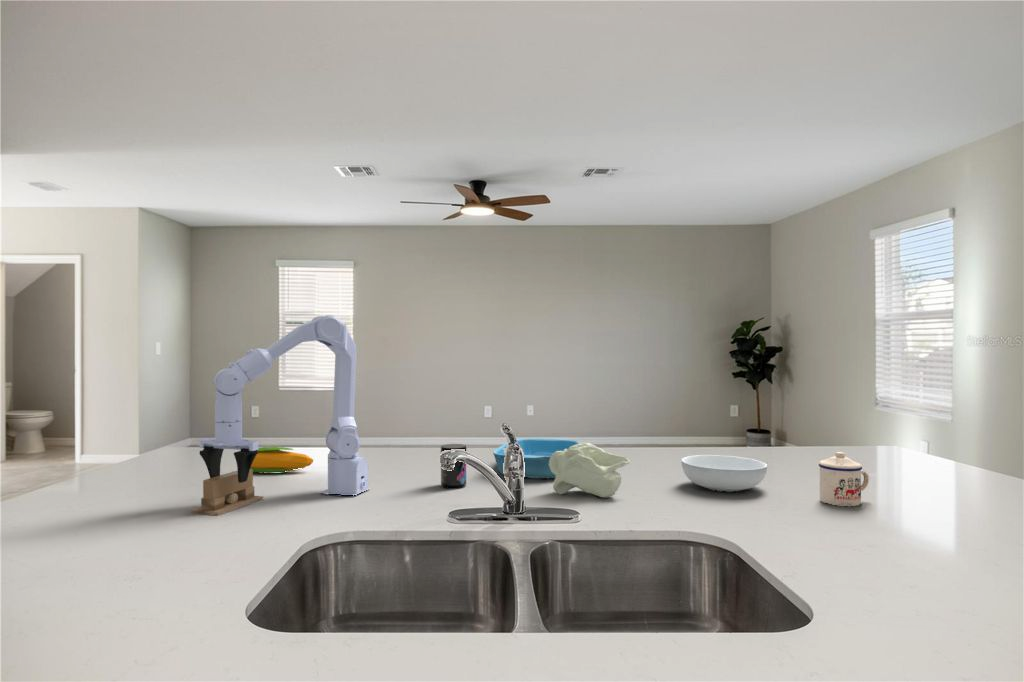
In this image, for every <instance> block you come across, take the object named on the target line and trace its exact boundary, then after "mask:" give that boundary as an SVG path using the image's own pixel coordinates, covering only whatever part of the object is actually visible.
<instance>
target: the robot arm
mask: <svg viewBox="0 0 1024 682" xmlns="http://www.w3.org/2000/svg"><path fill="white" fill-rule="evenodd" d="M315 341H316V342H319V343H321V344H323V345H325V346H326V347H327V348H328V349H329V350H330V351H332V352H333V354H334V355H335V356H334V383H333V385H334V386H333V404H332V405H333V407H332V409H333V410H332V418H331V420H330V423H329V431H328V432H327V433H326V437H325V445H326V447H327V448H328V449H329V452H328V454H327V488H326V489H325V490H321V491H320V494H321V493H328V494H327V495H329V494H341V495H353V496H352V497H355V496H354V495H356V496H358V495H357V494H359V493H361V492H363V493H365V492H367V491H369V490H368V489H371V488H370V487H369V463H368V460H367V458H365V457H360V456H359V455H358V452H359V450H360V449H361V448H360V447H361V439H360V438H359V435H358V426H357V423H356V420H355V399H356V397H355V396H356V377H357V376H356V374H357V373H356V371H357V344H356V343H355V341H354V339H353V337H352V335H351V334H350V332H349V331H348V327H347V323H346V322H345V323H344V321H342V320H341V319H340V318H339V317H337V316H335V315H332V314H328V315H319V316H315V317H314V318H312V319H311V320H308V321H306V322H304V323H302V324H300V325H298V326H297V327H295V328H294V329H292V330H291V331H289V332H288V333H287V334H285V335H283V336H282V337H281V338H280V339H278V340H277V341H275V342H273V343H271V344H270V345H269V346H268V347H267V348H265V349H264V348H259V347H257V348H254V349H252V348H250V349H248V350H247V351H246V352H245V353H246V355H244V356H242V357H240V359H237V360H236V361H235V362H233V361H231V362H229V363H228V364H227V365H228V367H229V368H223V369H220V370H219V371H218V372H217V373H216V374H215V376H214V378H213V380H212V384H213V387H214V388H215V394H214V395H215V401H214V438H202V439H199V449H201V450H199V455H200V457H201V458H202V460H203V462H204V464H205V465H206V469H207V471H208V474H209V478H213V477H217V476H220V475H221V463H222V458H223V454H224V453H223V452H224V450H237V451H234V452H233V456H234V458H235V463H236V467H237V468H236V469H237V471H238V482H239V483H242V482H245V481H247V478H248V474H249V471H250V468H251V465H252V462H253V460H254V458H255V457H256V455H257V453H258V448H259V441H258V440H249V439H244V438H243V400H242V390H243V389H244V387H245V384H251V382H252V381H254V380H256V379H257V378H259V377H261V376H262V375H263V374H265V373H267V372H268V371H270V370H271V369H272V368H273V363H274V360H276V359H278V358H279V357H281V356H282V355H284V354H285V353H288V352H289V351H291V350H292V349H294V348H296V347H297V346H298V345H301V344H302V343H305V342H315ZM366 490H367V491H366ZM364 491H365V492H364ZM361 494H362V493H361ZM341 495H340V496H341ZM359 495H360V494H359Z"/></svg>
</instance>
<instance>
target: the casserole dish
mask: <svg viewBox="0 0 1024 682" xmlns="http://www.w3.org/2000/svg"><path fill="white" fill-rule="evenodd" d="M515 440H517V442H518V444H519V445H520V446H521V448H522V449H523V452H524V455H523V457H524V462H525V477H528V478H529V477H530V479H540V478H547V480H548V479H549V478H553V479H556V475H555V474H554V473H553V472H551V469H550V467H549V460H550V458H551V455H552V454H553V453H555V452H556V451H563V450H564V449H567V450H568V449H569V447H570V446H573V445H576V444H579V443H581V442H580V441H578V440H574V439H564V438H551V437H550V438H546V437H545V438H541V437H539V438H538V437H537V438H536V437H535V438H532V437H531V438H518V439H515ZM508 442H509V441H508ZM508 442H506V443H504V444H502V445H500V446H499V447H497V448H496V449H494V451H493V452H492V453H493V456H494V457H493V458H494V460H495V464H496V467H497V469H498V470H499V472H500V473H501V474H502V475H504V474H503V463H504V457H505V455H504V454H505V453H504V450H503V448H505V447H506V446H507V444H508ZM549 480H550V479H549Z"/></svg>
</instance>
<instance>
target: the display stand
mask: <svg viewBox="0 0 1024 682" xmlns="http://www.w3.org/2000/svg"><path fill="white" fill-rule="evenodd" d="M262 498H263V499H264V496H263V495H260V496H259V495H255V486H254V485H253V486H252V487H249V488H246V489H243V490H240V491H237V492H234V493H231V494H228V495H225V496H222V497H219V498H216V499H204V498H203V497H201V498H200V499H201V500H200V503H201V504H200V507H197V508H194V509H192V510H191V514H199V515H200V514H201V515H211V516H220V515H222V514H225V512H226V513H229V512H231V511H234V510H236V509H235V508H237V509H239V508H238V507H240V508H242V507H245V506H247V505H246V504H248V505H250V504H249V503H251V502H253V503H255V502H254V501H256V502H258V501H257V500H259V499H262ZM263 499H262V500H263ZM259 501H260V500H259ZM251 504H252V503H251ZM244 505H245V506H244ZM241 506H242V507H241ZM233 509H234V510H233ZM230 510H231V511H230ZM228 511H229V512H228Z"/></svg>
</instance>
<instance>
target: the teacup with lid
mask: <svg viewBox="0 0 1024 682" xmlns="http://www.w3.org/2000/svg"><path fill="white" fill-rule="evenodd" d="M818 466H819V500H820V502H822V503H824V504H826V503H828V504H827V505H830V504H832V505H831V506H835V505H837V506H836V507H844V506H848V508H851V506H853V507H857V506H860V505H861V504H862V491H864V490H866V489H867V487H868V485H869V481H870V477H869V476H870V475H869V473H868V472H867V471H865V470H863V467H862V464H861V463H859V462H857V461H854V460H852V459H851V458H849V457H847V456H846V453H845V452H843V451H837V452H835V455H833V456H831V457H828V458H827V459H822V460H820V461H819V462H818ZM862 476H863V482H862Z"/></svg>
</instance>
